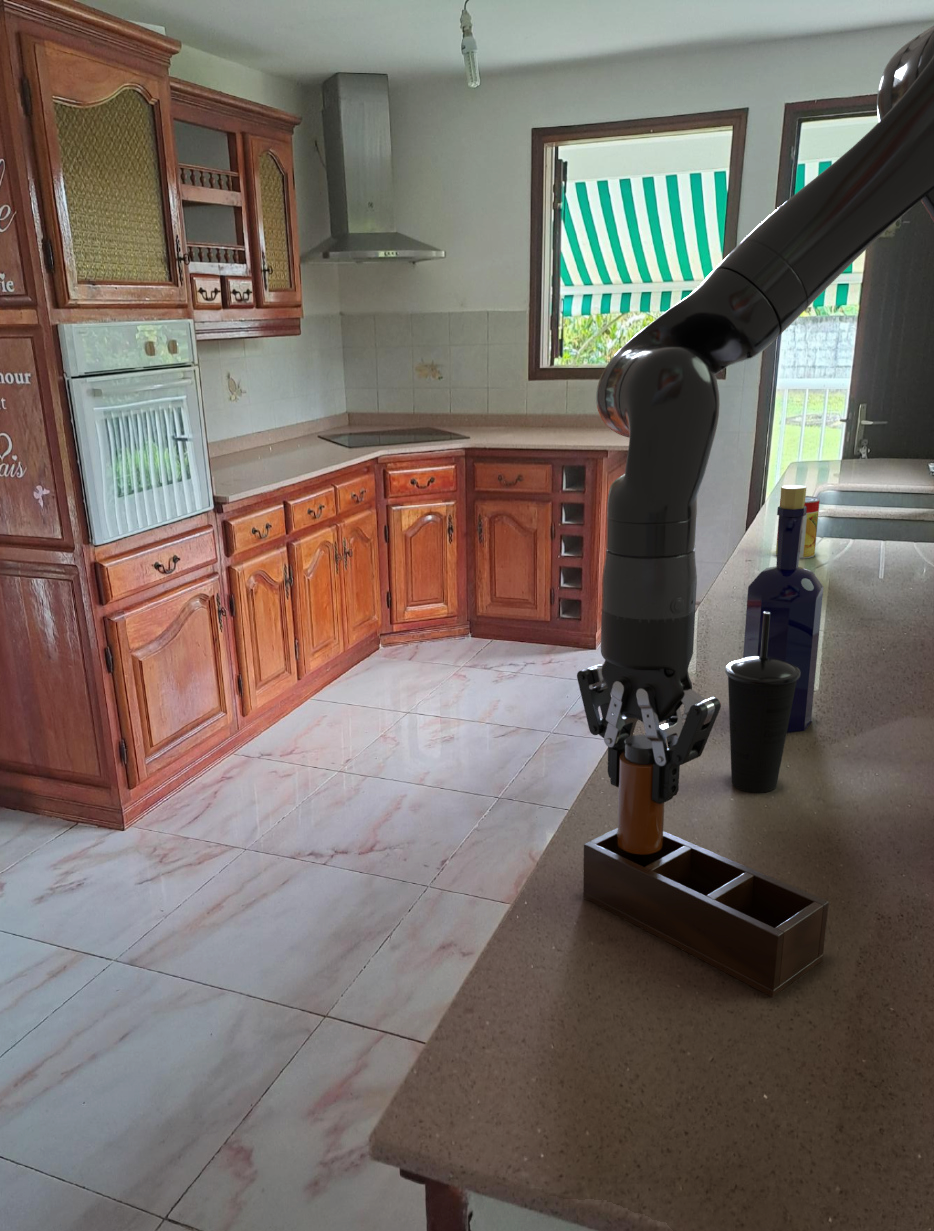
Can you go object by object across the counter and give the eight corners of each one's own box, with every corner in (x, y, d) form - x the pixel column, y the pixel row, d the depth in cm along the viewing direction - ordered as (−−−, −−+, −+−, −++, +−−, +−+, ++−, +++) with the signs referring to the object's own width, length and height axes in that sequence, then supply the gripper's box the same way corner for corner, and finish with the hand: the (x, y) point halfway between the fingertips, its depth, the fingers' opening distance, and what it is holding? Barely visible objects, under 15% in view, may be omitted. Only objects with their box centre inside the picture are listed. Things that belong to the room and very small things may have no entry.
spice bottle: (636, 828, 92) (640, 728, 88) (672, 844, 89) (676, 741, 85) (607, 843, 90) (610, 741, 86) (642, 859, 87) (646, 754, 83)
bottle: (806, 708, 132) (828, 480, 122) (818, 734, 124) (842, 492, 113) (734, 706, 134) (749, 481, 124) (741, 732, 126) (757, 494, 115)
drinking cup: (761, 764, 116) (774, 599, 109) (804, 791, 110) (821, 616, 103) (704, 776, 114) (714, 608, 107) (745, 803, 108) (758, 626, 101)
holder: (633, 870, 96) (634, 818, 94) (822, 960, 81) (829, 901, 79) (582, 897, 92) (583, 844, 90) (772, 997, 77) (778, 936, 75)
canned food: (815, 551, 216) (820, 496, 212) (813, 559, 209) (818, 502, 205) (777, 550, 219) (781, 495, 215) (773, 557, 212) (778, 501, 208)
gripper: (751, 609, 78) (736, 805, 84) (612, 581, 89) (608, 756, 95) (691, 629, 74) (681, 834, 80) (553, 597, 85) (553, 779, 91)
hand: (641, 790), depth 87 cm, fingers closed on spice bottle, 4 cm apart
